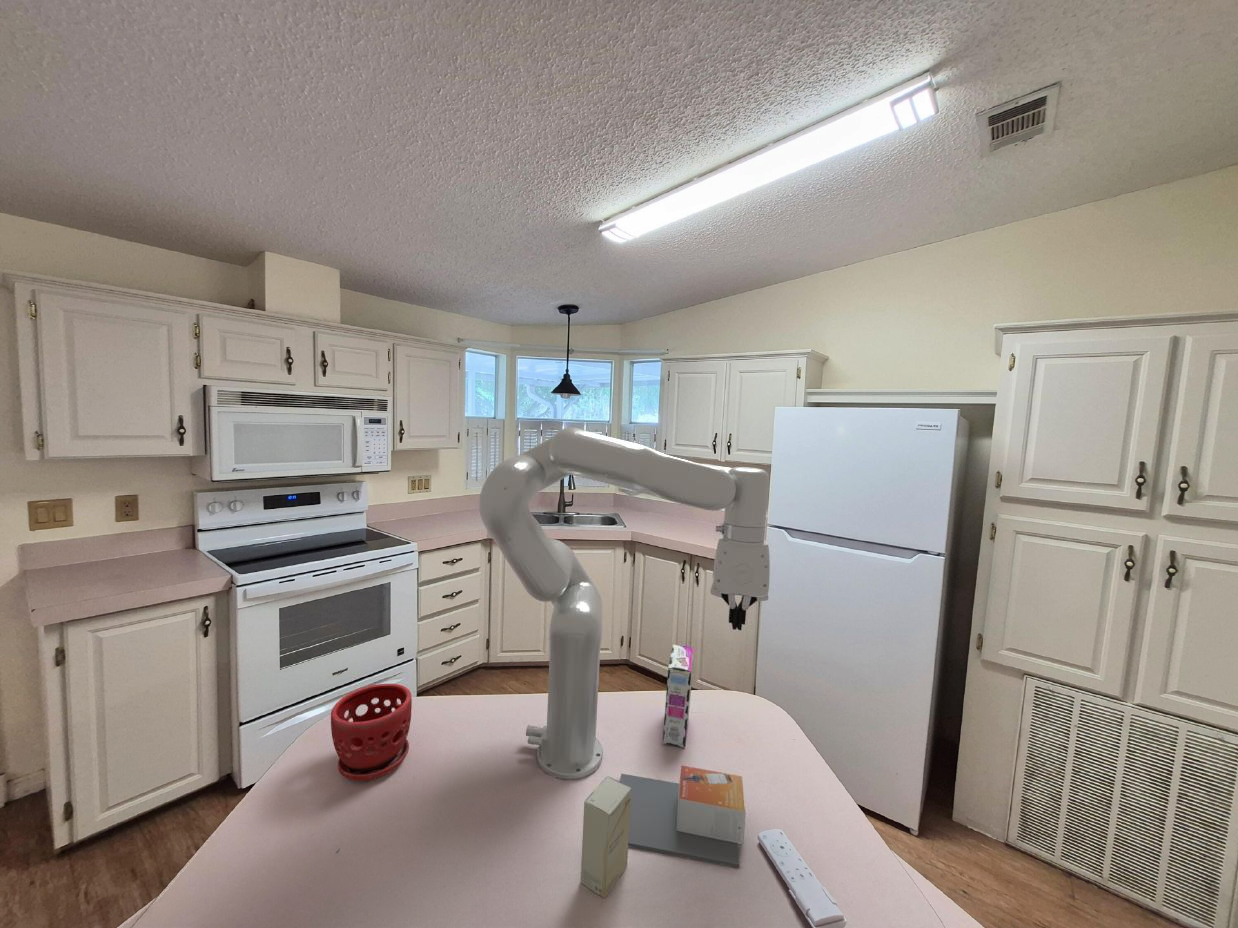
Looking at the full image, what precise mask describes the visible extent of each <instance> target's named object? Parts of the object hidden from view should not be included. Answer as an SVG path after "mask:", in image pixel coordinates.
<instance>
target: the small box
mask: <svg viewBox="0 0 1238 928" xmlns="http://www.w3.org/2000/svg"><path fill="white" fill-rule="evenodd" d="M678 783H679V792H678V811H677V831H680V832H684V833H689V834H694V835H699V836H704V837H709V838H714V839H718V840H723V841H728V842H733V843H738V845H739V844H740V845H744V839H745V826H746V807H745V795H744V780H743V776H742V775H736V774H730V773H726V772H720V771H715V770H710V769H709V770H708V769H703V768H699V767H692V766H687V765H683V764H681V765H680V771H679V781H678Z"/></svg>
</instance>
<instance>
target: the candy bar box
mask: <svg viewBox="0 0 1238 928" xmlns="http://www.w3.org/2000/svg"><path fill="white" fill-rule="evenodd" d="M694 650H695V649H694V647H691V646H687V645H686V646H684V645H679V644H672V647H671V651H670V658H669V661H668V667H667V680H666V681H667V682H666V691H665V692H666V693H665V704H664V705H665V706H664V707H665V708H664V717H663V718H664V719H663V720H664V722H663V730H662V731H663V733H662V741H661V742H662V744H663V745H668V746H673V747H677V748H683V749H685V748H686V743H687V735H688V728H689V717H690V709H691V708H690V706H691V693H692V681H693V668H694V666H693V665H694Z"/></svg>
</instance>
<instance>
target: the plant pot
mask: <svg viewBox="0 0 1238 928" xmlns="http://www.w3.org/2000/svg"><path fill="white" fill-rule="evenodd" d="M374 699H378V701H377V702H376V703H373V702H372V700H374ZM398 700H399V701H400V703H399V702H398ZM386 701H389V703H390V704H389V705H386V704H385V702H386ZM412 701H413V698H412V693H411V691H410V689H409V688H408V687H406V686H404V685H401V684H398V683H378V684H372V685H368V686H364V687H362V688H359V689H356V690H354V691H352V692H349V693H347V694H346V695H345V696H343V697H342V698H340V699H339V700H338V701H337V702H336V703H335V704H334V705H333V707H332V709H331V712H330V730H331V731H330V732H331V738H332V743H333V746H334V749H335V752H336V754H337V756H338V757H339V758H338V760H337V769H338V772H339V773H340V775H342V776H343V777H344V778H346V779H348V780H351V781H356V782H365V781H366V782H367V781H370V780H375V779H378V778H381V777H383V776H385V775H387V774H390V773H391V772H393V771H394V770H395V769H397V768H398V767H399V766H400V765H401V764H402V763H403V762H404V760H405V758H406V757H407V755H408V753H409V749H410V742H409V740H408V739H407V738H408V736H409V731H410V725H411V721H412V708H413V706H412V705H413V704H412V703H413V702H412ZM363 705H365V706H367V710H366V712H365V713H363V714H361V715H358V714H357V712H356V711H357V709H358V708H359V707H360V706H363ZM376 709H379V711H378V712H376ZM393 709H394V711H393ZM347 712H348V714H347V715H346V717H345V714H346V713H347ZM351 719H352V721H350V720H351Z"/></svg>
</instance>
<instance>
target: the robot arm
mask: <svg viewBox="0 0 1238 928" xmlns="http://www.w3.org/2000/svg"><path fill="white" fill-rule="evenodd" d="M568 476H575V477H579V478H583V479H587V480H592V481H597V482H599V483H605V484H608V485H612V486H616V487H620V488H624V489H627V490H631V491H633V492H637V493H640V494H645V495H648V496H653V497H656V498H659V499H663V500H666V501H670V502H672V503H677V504H680V505H683V506H688V507H693V508H697V509H701V510H706V511H720V510H721V511H722V509H724V519H723V523H721V524H715V532H717V533H718V532H719V533H720V534H721V535H722V536H720V537H718V542H717V545H716V550H715V556H714V562H713V570H712V584H711V587H710V594H711V595H712V596H715V597H717V598H720V599H722V600H724V603H726V605H727V606H728V607H729V610H728V623H729V624H731V627H732V630H738V631H742V627H743V625H744V626H745V625H746V620H747V617H746V616H747V611H748V610H749V608H750V607H751V606H753V604H756V602H766V601H768V600H769V590H770V575H771V574H770V572H771V571H770V569H771V568H770V567H771V566H770V565H771V564H770V563H771V562H770V557H771V555H770V548H769V543H768V542H767V541H766V540H765V533H766V531H765V530H766V521H767V519H766V518H767V509H768V507H767V505H768V495H769V485H770V477H769V473H768V471H766V470H764V469H761V468H757V467H749V466H748V467H745V466H739V467H738V466H737V467H728V466H720V465H714V464H709V463H698V462H694V461H690V460H686V459H683V458H678V457H675V456H671V455H669V454H665V453H662V452H660V451H658V450H655V449H653V448H651V447H649V446H646V445H643V444H640V443H636V442H633V441H628V440H624V439H621V438H620V439H619V438H616V437H611V436H607V435H603V434H601V433H600V434H599V433H597V432H591V431H590V430H589V431H588V430H584V429H581V428H579V427H566V428H563V429H560V430H559V431H558V432H556V433H555V435H553V436H552V437H550V438H548V439H546V440H544V441H543V442H542V443H540V444H538V445H536V446H534V447H532V448H530V449H528V450H526V451H524V452H523V453H520V454H518V455H516V456H514V457H511V458H508V459H506V460H504V461H501V462H500V463H499V464H498V465H496V466H495V467H494V468H493V469H492V471H491V472H490V473H489V474H488V475H487V478H486V479H485V482H483V485H482V488H481V490H480V495H479V500H478V502H479V504H478V506H479V513H480V518H481V522H482V523H483V524H484V525H483V526H485V529H486V530H487V532H488V534H489V535H490V537H491V538H492V540H493V541H494V543H495V544H496V545H497V547H498V548H499V550H500V551H501V553H502V556H503V557H504V558H505V560H506V562H507V563H508V565H509V566H510V568H511V569H512V571H513V572H514V574H515V575H516V578H518V579H519V581H520V583H521V584H522V586H523V588H524V589H525V590H526V592H527V593H528V594H529V595H530V596H531V597H532V598H533V599H535V600H538V601H539V602H546V603H547V602H551V604H552V606H553V610H552V614H551V619H550V624H549V634H548V635H549V637H548V641H549V642H548V643H549V644H548V645H549V649H548V651H549V652H548V654H549V659H548V660H549V661H548V687H547V688H548V690H547V709H546V710H547V715H546V725H544V726H542V727H541V726H540V727H539V726H535V725H532V724H531V725H529V724H528V725H526V731H525V736H526V737H527V744H529V745H537V746H538V748H537V753H536V755H537V756H536V757H537V763H538V765H539V767H540V768H541V769H542V771H544V772H545V773H546V774H548V775H550V776H551V777H555V778H557V779H561V780H562V779H564V780H575V779H580V778H584V777H586V776H589V775H591V774H592V773H593V772H595V771H596V770H597V769H598V768H599V767H600V765H601V763H602V761H603V753H604V750H603V746H602V744H601V742H600V741H599V739H598V738H597V736H596V735H597V717H598V699H599V698H598V697H599V681H600V679H599V678H600V677H599V676H600V660H601V659H600V658H601V657H600V656H601V648H602V647H601V644H602V637H603V636H602V635H603V610H602V608H603V607H602V598H601V595H600V592H599V591H598V589H597V587H596V585H595V584H594V582H593V581H592V579H591V578H590V576H589V575H588V573H587V571H586V570H585V569H584V567H583V566H582V563H580V561H579V560H578V558H577V556H576V555H575V553H574V552H573V551H572V549H571V548H570V547H569V546H568V545H567V544H565V543H564V542H562V541H561V540H558V539H555V538H549V536H548V535H547V534H546V532H545V531H544V529H543V527H542V526H541V524H540V523H539V521H538V520H537V519H536V518H535V516H534V515H533V514H532V512H531V510H530V507H529V503H530V501H531V500H532V499H533V498H534V497H535V496H536V495H537V494H538V493H539V492H541V491H543V490H545V489H546V488H548V487H550V486H552V485H554V484H556V483H558V482H560V481H561V480H564V479H565V478H567V477H568ZM736 596H741V600H740V601H739V602H738V604H737V601H736Z"/></svg>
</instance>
